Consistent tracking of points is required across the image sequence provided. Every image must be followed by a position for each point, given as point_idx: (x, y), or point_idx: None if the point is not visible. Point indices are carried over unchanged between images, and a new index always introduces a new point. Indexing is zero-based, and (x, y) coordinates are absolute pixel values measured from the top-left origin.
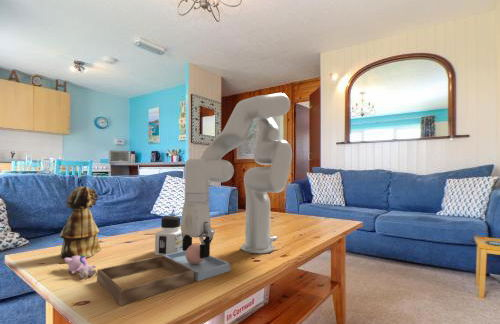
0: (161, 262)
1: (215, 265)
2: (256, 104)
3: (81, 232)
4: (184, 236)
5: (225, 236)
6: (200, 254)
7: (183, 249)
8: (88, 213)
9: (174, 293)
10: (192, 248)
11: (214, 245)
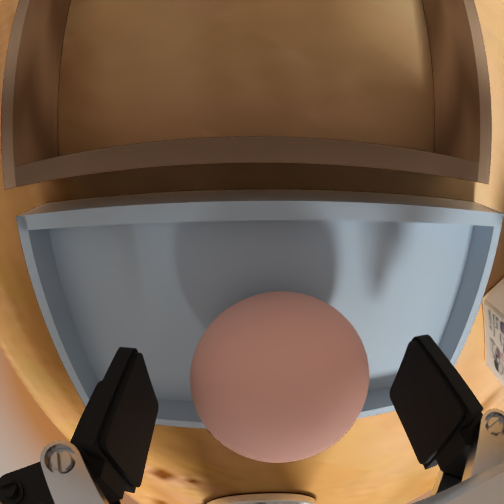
0: (449, 153)
1: (162, 384)
2: None
3: None
4: (476, 436)
5: (426, 478)
6: (110, 366)
7: (420, 343)
8: None
9: None
10: (251, 394)
11: (412, 453)
